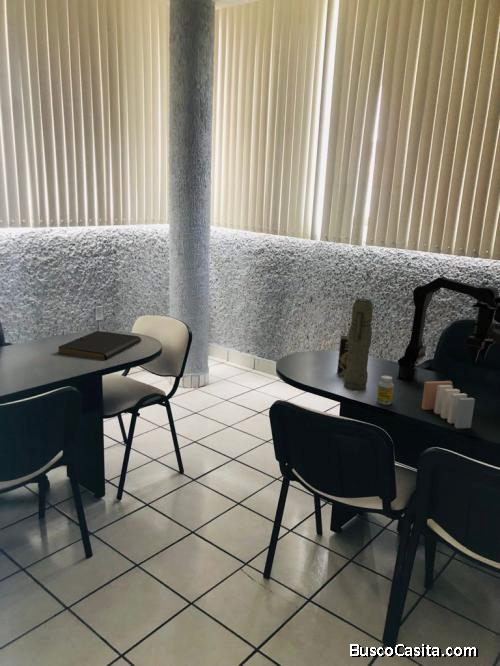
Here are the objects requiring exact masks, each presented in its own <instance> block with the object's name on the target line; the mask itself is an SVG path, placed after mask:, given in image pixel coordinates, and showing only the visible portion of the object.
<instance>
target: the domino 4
mask: <svg viewBox="0 0 500 666" xmlns="http://www.w3.org/2000/svg"><path fill="white" fill-rule="evenodd" d="M458 398H468V394H466V392H464V393H463V392H462V393H457V394H451V399H450V406H449V413H448V418H447V422H448V423H449V424H455V419H456V412H457V405H458Z"/></svg>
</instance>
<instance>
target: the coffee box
mask: <svg viewBox="0 0 500 666" xmlns="http://www.w3.org/2000/svg"><path fill="white" fill-rule="evenodd" d="M348 348H349V345H348V335H340V341H339V351H338V360H337V370H336V376H337V375H339V376H338V377H344V375H345V371H346V369H347V358H348Z"/></svg>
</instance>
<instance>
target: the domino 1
mask: <svg viewBox="0 0 500 666" xmlns="http://www.w3.org/2000/svg"><path fill="white" fill-rule="evenodd" d="M438 385H451V386H453V381H451V380H441V381H437V380H436V381H433V380H432V381H424V386H423V395H422V401H421V409H422V410H425V411H427V410H428V411H429V410H434V408H435V401H436V394H437V386H438Z"/></svg>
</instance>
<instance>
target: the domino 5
mask: <svg viewBox="0 0 500 666" xmlns="http://www.w3.org/2000/svg"><path fill="white" fill-rule="evenodd" d="M475 401H476V399H475V398H473V397H467V398H458V405H457V412H456V419H455V423H454V428H455V429H471V427H472V420H473V414H474V408H475V403H476V402H475Z"/></svg>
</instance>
